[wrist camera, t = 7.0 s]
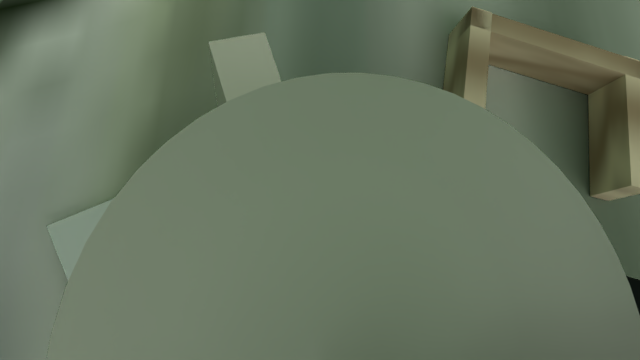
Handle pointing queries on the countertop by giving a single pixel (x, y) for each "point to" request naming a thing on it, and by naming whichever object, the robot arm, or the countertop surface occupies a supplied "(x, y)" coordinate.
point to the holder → (562, 70)
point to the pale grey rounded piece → (345, 235)
